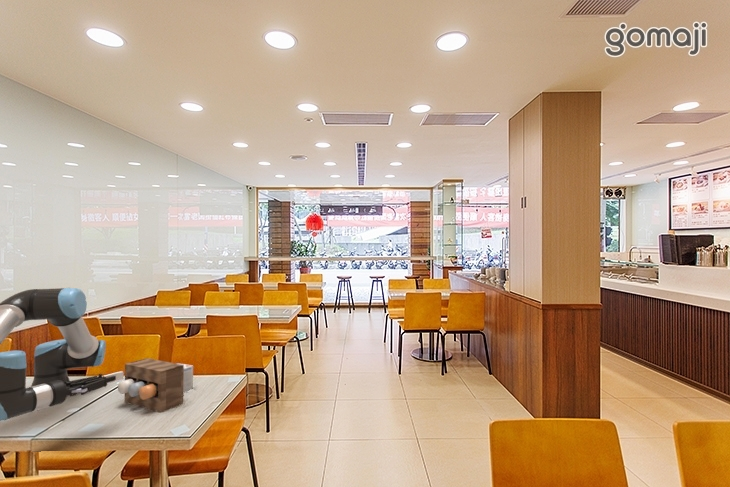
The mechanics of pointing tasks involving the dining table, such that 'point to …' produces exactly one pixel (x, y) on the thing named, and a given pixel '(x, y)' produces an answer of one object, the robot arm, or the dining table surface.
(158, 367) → the panel
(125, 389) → the white button
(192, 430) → the dining table surface
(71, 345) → the robot arm
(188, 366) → the light bulb box
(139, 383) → the grey button
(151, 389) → the orange button
